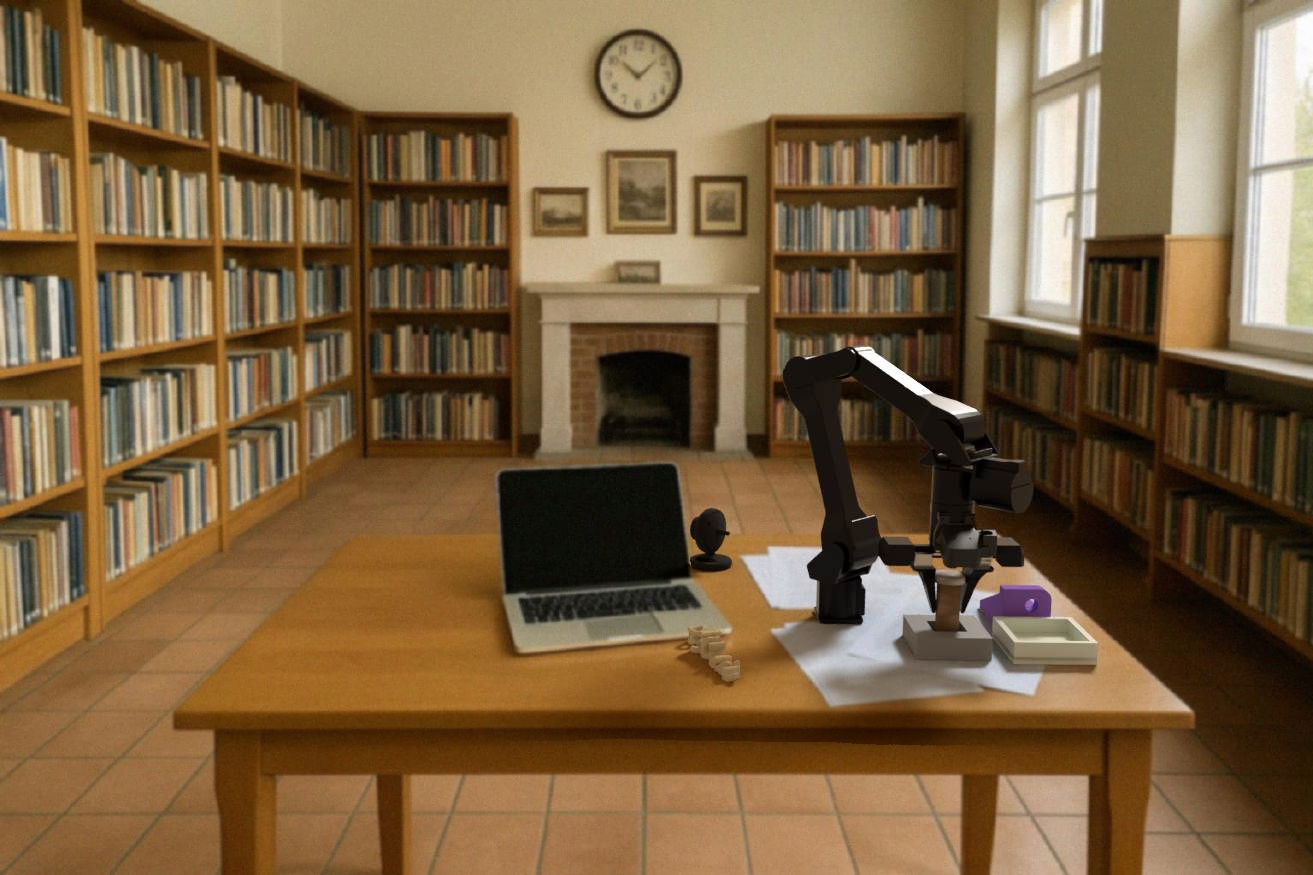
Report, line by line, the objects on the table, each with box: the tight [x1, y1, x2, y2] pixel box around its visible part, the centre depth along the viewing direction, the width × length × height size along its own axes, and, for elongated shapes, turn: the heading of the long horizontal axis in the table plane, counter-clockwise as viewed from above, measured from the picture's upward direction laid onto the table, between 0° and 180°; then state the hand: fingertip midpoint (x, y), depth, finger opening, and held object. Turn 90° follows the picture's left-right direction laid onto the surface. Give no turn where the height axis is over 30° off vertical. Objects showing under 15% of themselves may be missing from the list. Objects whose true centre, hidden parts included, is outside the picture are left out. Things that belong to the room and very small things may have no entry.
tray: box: [991, 616, 1099, 666], centre depth 167 cm, size 11×11×3 cm
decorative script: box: [687, 624, 741, 683], centre depth 163 cm, size 17×4×3 cm, turn 19°
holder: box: [902, 614, 994, 661], centre depth 169 cm, size 10×10×3 cm
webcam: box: [689, 507, 733, 572], centre depth 209 cm, size 8×8×10 cm
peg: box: [934, 569, 966, 632], centre depth 168 cm, size 4×4×10 cm
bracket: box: [979, 584, 1053, 624], centre depth 180 cm, size 12×7×7 cm, turn 0°
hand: (947, 612), depth 168 cm, fingers closed on peg, 4 cm apart
